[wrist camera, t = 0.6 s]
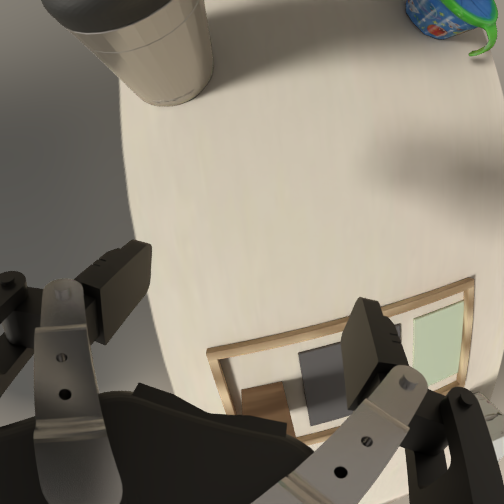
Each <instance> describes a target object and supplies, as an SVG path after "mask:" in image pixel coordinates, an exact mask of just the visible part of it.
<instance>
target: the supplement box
mask: <svg viewBox="0 0 504 504" xmlns="http://www.w3.org/2000/svg"><path fill="white" fill-rule="evenodd" d="M474 395H475V396H476V398H477V399H478V401H479V404H480V407H481V409H482V412H483V415H484V418H485V421H486V424H487V427H488V430H489V433H490V436H491V439H492V443H493V446H494V449H495V453H496V456H497V460H498V462H499V461H500V460H501V458H502V457H503V455H504V414H503V413H502V412H501V411H500V410H498V408H496V407H495V406H494V405H493V404H492V403H491V402H490V401H489V400H488V399H487V398H486V397H485V396H484V395H482V394H481V393H480V392H479V393H476V394H474Z"/></svg>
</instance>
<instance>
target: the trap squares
mask: <svg viewBox="0 0 504 504" xmlns="http://www.w3.org/2000/svg"><path fill="white" fill-rule="evenodd" d="M395 327H396V330H397V332H398V336H399V338H400V325H399V324H397V325H395ZM298 355H299V361H300V367H301V373H302V378H303V384H304V390H305V396H306V402H307V408H308V414H309V420H310V425H311V426H314V425H318V424H321V423H325V422H329V421H332V420H336V419H339V418H343V417H346V416H349V415H351V414H352V413H353V411H352V410H347V398H346V388H345V378H344V368H343V359H342V351H341V342H338V343H334V344H331V345H327V346H323V347H319V348H315V349H312V350H308V351H304V352H300V353H298Z"/></svg>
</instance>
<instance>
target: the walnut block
mask: <svg viewBox="0 0 504 504" xmlns="http://www.w3.org/2000/svg"><path fill="white" fill-rule="evenodd" d="M241 394H242V415H251V416H255V417H260V418H265V419H269V420H274V421H280V422H285V423H287V430H286V434H288V435H290V436H293V437H294V438H296V436H295V432H294V428H293V424H292V420H291V416H290V412H289V408H288V404H287V400H286V396H285V392H284V387H283V383H282V381H281V382H276V383H272V384H267V385H262V386H257V387H252V388H247V389H242V390H241Z"/></svg>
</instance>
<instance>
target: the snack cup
mask: <svg viewBox="0 0 504 504" xmlns="http://www.w3.org/2000/svg"><path fill="white" fill-rule="evenodd" d="M406 13H407V14H408V15H409V17H410V19H411V21H412V22H413V23H414V24H415V25H416V26H417V27H418V28H419V29H420V30H421V32H423V33H424V34H425V35H428V36H431V37H433V38H437V39H446V38H449V37H451V36H455V35H458V34H461V33H463V32H466V31H469V30H472V29H475V28H477V27H480V28H483V29H484V30H486V32H487V36H488V39H489V42H488V43H487V44H486V46H484V47H482V48H481V49H479V50H477V51H472V52H470V53H469V56H477V55H479V54H482V53H484V52H486V51H488V50H490V49H491V48H492V47H493V46H494V44H495V42H496V39H497V28H496V20H497V18H498V11H497V7H496V4H495V2H494V0H407V1H406Z"/></svg>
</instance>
